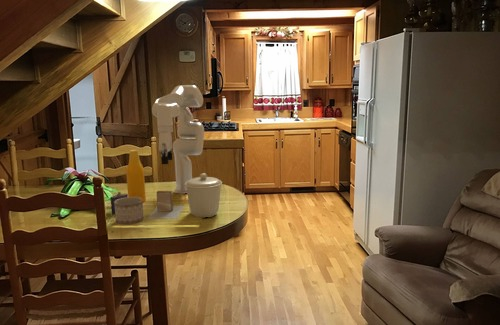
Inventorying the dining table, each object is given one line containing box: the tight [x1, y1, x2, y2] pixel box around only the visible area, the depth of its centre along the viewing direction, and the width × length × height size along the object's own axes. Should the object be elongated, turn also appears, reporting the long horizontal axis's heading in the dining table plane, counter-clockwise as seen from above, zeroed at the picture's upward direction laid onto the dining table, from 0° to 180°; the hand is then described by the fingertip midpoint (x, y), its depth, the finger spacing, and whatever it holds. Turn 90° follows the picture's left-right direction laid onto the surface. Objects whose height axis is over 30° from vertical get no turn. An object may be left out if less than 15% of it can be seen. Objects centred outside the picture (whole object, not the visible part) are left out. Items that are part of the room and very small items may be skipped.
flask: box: [109, 191, 128, 215], centre depth 203 cm, size 9×3×11 cm, turn 138°
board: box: [147, 205, 184, 220], centre depth 201 cm, size 20×14×1 cm
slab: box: [156, 190, 174, 212], centre depth 202 cm, size 3×7×10 cm, turn 90°
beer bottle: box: [125, 149, 147, 203], centre depth 217 cm, size 9×9×29 cm
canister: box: [185, 172, 223, 219], centre depth 197 cm, size 18×18×21 cm
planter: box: [114, 197, 145, 225], centre depth 190 cm, size 13×13×10 cm
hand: (167, 161), depth 207 cm, fingers open, 9 cm apart
